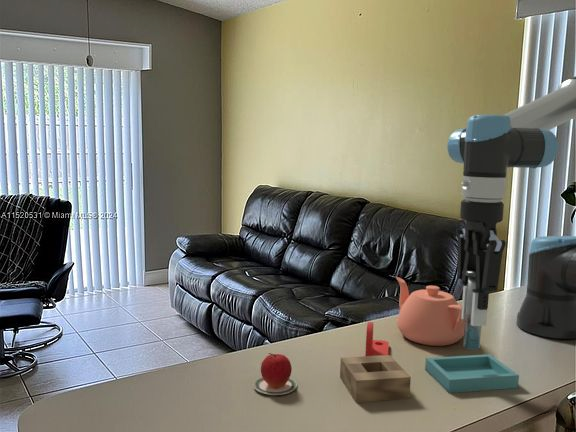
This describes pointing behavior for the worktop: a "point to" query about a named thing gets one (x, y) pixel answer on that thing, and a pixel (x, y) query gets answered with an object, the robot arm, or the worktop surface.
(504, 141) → the robot arm
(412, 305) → the teapot
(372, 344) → the bracket
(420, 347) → the worktop surface
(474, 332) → the pin
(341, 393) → the worktop surface
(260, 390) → the apple
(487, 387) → the tray
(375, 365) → the block
